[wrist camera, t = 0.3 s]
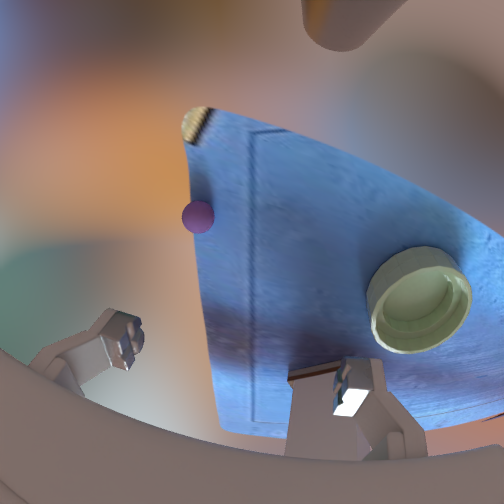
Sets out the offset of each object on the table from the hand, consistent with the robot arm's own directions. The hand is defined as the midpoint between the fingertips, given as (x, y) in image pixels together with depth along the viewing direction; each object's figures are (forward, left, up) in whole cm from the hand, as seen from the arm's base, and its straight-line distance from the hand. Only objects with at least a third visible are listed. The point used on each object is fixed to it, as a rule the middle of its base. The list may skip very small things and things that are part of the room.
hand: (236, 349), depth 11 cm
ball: (+4, -9, -21) cm, 23 cm away
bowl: (+10, +18, -23) cm, 31 cm away
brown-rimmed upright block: (+31, +12, -23) cm, 41 cm away
